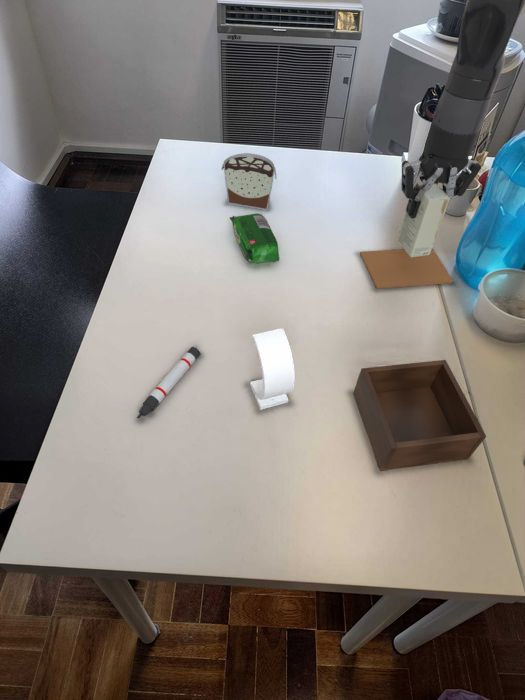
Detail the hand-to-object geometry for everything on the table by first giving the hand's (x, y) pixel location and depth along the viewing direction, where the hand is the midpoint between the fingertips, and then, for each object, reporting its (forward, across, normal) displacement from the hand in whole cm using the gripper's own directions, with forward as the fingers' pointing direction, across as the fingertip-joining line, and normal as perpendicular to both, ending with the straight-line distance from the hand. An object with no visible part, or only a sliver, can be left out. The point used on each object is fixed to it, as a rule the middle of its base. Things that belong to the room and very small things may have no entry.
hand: (424, 214), depth 87 cm
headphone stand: (+13, -33, -28) cm, 45 cm away
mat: (+13, 0, 0) cm, 13 cm away
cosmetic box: (+8, 0, 0) cm, 8 cm away
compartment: (+13, -13, -36) cm, 40 cm away
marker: (+13, -49, -24) cm, 56 cm away
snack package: (+13, -30, +10) cm, 34 cm away
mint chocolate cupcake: (+13, -28, +28) cm, 42 cm away
